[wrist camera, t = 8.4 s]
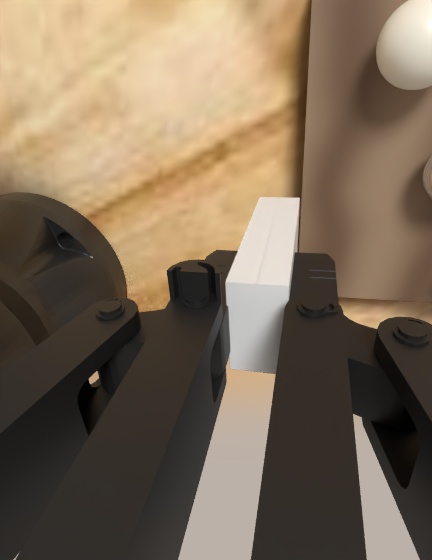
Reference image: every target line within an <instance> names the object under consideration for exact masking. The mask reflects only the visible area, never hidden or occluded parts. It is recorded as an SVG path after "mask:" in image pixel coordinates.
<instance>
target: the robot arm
mask: <svg viewBox="0 0 432 560" xmlns="http://www.w3.org/2000/svg"><path fill="white" fill-rule="evenodd" d="M299 205H300V198H286V197H260V198H259V200H258V203H257V205H256V208H255V210H254V213H253V215H252V218H251V220H250V222H249V225H248V227H247V230H246V232H245V235H244V237H243V240H242V242H241V245H240V247H239V250H238V251H226V250H216V251H214V252H213V253H211V254H210V255H208V256H207V257H206V259H205V260H188V261H183V262H179V263H177V264H175V265H173V266H171V267H170V268H169V269H168V270H167V276H168V284H169V291H170V301H169V303H168V304H167V306H166V308H165V309H162V310H156V311H148V312H140V313H139V311H138V306H137V304H136V303H135V302H134V301H133V300H130V299H128V298H126V282H125V277H124V273H123V270H122V267H121V264H120V262H119V260H118V258H117V256H116V254H115V252H114V250H113V249H112V247H111V245H110V244H109V243H108V241H107V240H106V238H105V237H104V236H103V235H102V234H101V232H100V231H99V230H98V229H97V228H96V227H95V226H94V225H93V224H92V223H91V222H90V221H88V220H87V219H86V218H85V217H84V216H82V215H81V214H80V213H78V212H77V211H75V210H74V209H72V208H70V207H69V206H67V205H65V204H63V203H61V202H59V201H57V200H54V199H52V198H49V197H46V196H42V195H38V194H32V193H11V194H6V195H3V196H0V560H13V559H14V558H15V557H16V556H17V554H18V553H19V552H20V553H19V555H18V556H17V558H16V560H178V557H179V554H180V550H181V546H182V543H183V539H184V535H185V532H186V528H187V524H188V521H189V517H190V513H191V509H192V506H193V502H194V499H195V495H196V491H197V487H198V484H199V481H200V477H201V473H202V470H203V466H204V462H205V458H206V455H207V451H208V448H209V444H210V440H211V436H212V433H213V429H214V426H215V422H216V418H217V415H218V411H219V407H220V404H221V400H222V397H223V393H224V389H225V385H226V364H227V361H228V358H229V359H230V369H237V370H245V371H254V372H263V373H273V374H276V377H275V384H274V392H273V400H272V407H271V414H270V422H269V429H268V437H267V444H266V451H265V459H264V466H263V474H262V482H261V489H260V496H259V504H258V511H257V519H256V526H255V533H254V541H253V549H252V556H251V560H367V559H366V549H365V538H364V528H363V517H362V506H361V495H360V485H359V475H358V464H357V454H356V444H355V432H354V422H353V414H355V415H358V416H360V417H362V422H363V426H364V428H365V431H366V433H367V435H368V438H369V440H370V442H371V445H372V447H373V450H374V452H375V454H376V457H377V459H378V461H379V464H380V466H381V468H382V470H383V473H384V475H385V478H386V480H387V482H388V485H389V487H390V490H391V492H392V494H393V497H394V499H395V501H396V504H397V506H398V509H399V511H400V513H401V515H402V518H403V520H404V523H405V525H406V527H407V530H408V532H409V535H410V537H411V539H412V541H413V544H414V546H415V549H416V551H417V553H418V556H419V558H420V560H432V325H431V324H429V323H427V322H425V321H422V320H419V319H415V318H410V317H394V318H389V319H386V320H384V321H383V322H381V323H380V324H379V326H378V329H374V328H371V327H367V326H364V325H361V324H358V323H356V322H354V321H352V320H350V319H348V318H347V317H346V316H345V315H343V310H342V308H341V306H340V305H339V304H338V292H337V280H336V268H335V261H334V260H333V259H332V258H331V257H330V256H329V255H328V254H323V253H300V252H297V246H298V225H299ZM96 371H98V374H99V379H98V380H97V381H96V382H94V383H93V384H90V383H89V378H90V377H91V376H92V375H93V374H94V373H95V372H96Z"/></svg>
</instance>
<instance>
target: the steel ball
mask: <svg viewBox="0 0 432 560" xmlns="http://www.w3.org/2000/svg"><path fill="white" fill-rule="evenodd" d="M423 185H424V188H425V190H426V192H427V194H428V195H429V196H430V197H431V198H432V156H431V157H430V158H429V159H428V161H427V163H426V165H425V167H424V171H423Z"/></svg>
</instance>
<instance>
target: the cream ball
mask: <svg viewBox="0 0 432 560" xmlns="http://www.w3.org/2000/svg"><path fill="white" fill-rule="evenodd" d="M376 60H377V65H378V68H379V70H380V72H381V74H382V75H383V77H384V78H385V79H386V80H387V81H388V82H389V83H390V84H392V85H393V86H395V87H397V88H400V89H405V90H419V89H424V88H427V87H430V86H432V0H408V1H406V2H405V3H403V4H402V5H401V6H399V7H398V8H397V9H396V10H395V11H394V12H393V13H392V14H391V16H390V17H389V18H388V20H387V21H386V22H385V24H384V26H383V28H382V30H381V32H380V34H379V38H378V41H377V46H376Z"/></svg>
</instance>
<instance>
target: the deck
mask: <svg viewBox="0 0 432 560" xmlns="http://www.w3.org/2000/svg"><path fill="white" fill-rule="evenodd" d="M406 1H408V0H312V7H311V27H310V46H309V66H308V85H307V104H306V124H305V143H304V162H303V182H302V201H301V221H300V240H299V252H300V253H323V254H328V255H329V256H330V257H331V258H332V259H333V260H334V261H335V268H336V280H337V292H338V297H347V298H363V299H379V300H396V301H412V302H428V303H432V198H431V197H430V196H429V195H428V194H427V192H426V190H425V188H424V185H423V171H424V167H425V165H426V163H427V161H428V159H429V158H430V157H431V156H432V86H430V87H427V88H424V89H419V90H405V89H400V88H397V87H395V86H393V85H392V84H390V83H389V82H388V81H387V80H386V79H385V78H384V77H383V75H382V74H381V72H380V70H379V68H378V65H377V60H376V46H377V41H378V38H379V34H380V32H381V30H382V28H383V26H384V24H385V22H386V21H387V20H388V18H389V17H390V16H391V14H392V13H393V12H394V11H395V10H396V9H397V8H398V7H399V6H401V5H402V4H403V3H405V2H406Z"/></svg>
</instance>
